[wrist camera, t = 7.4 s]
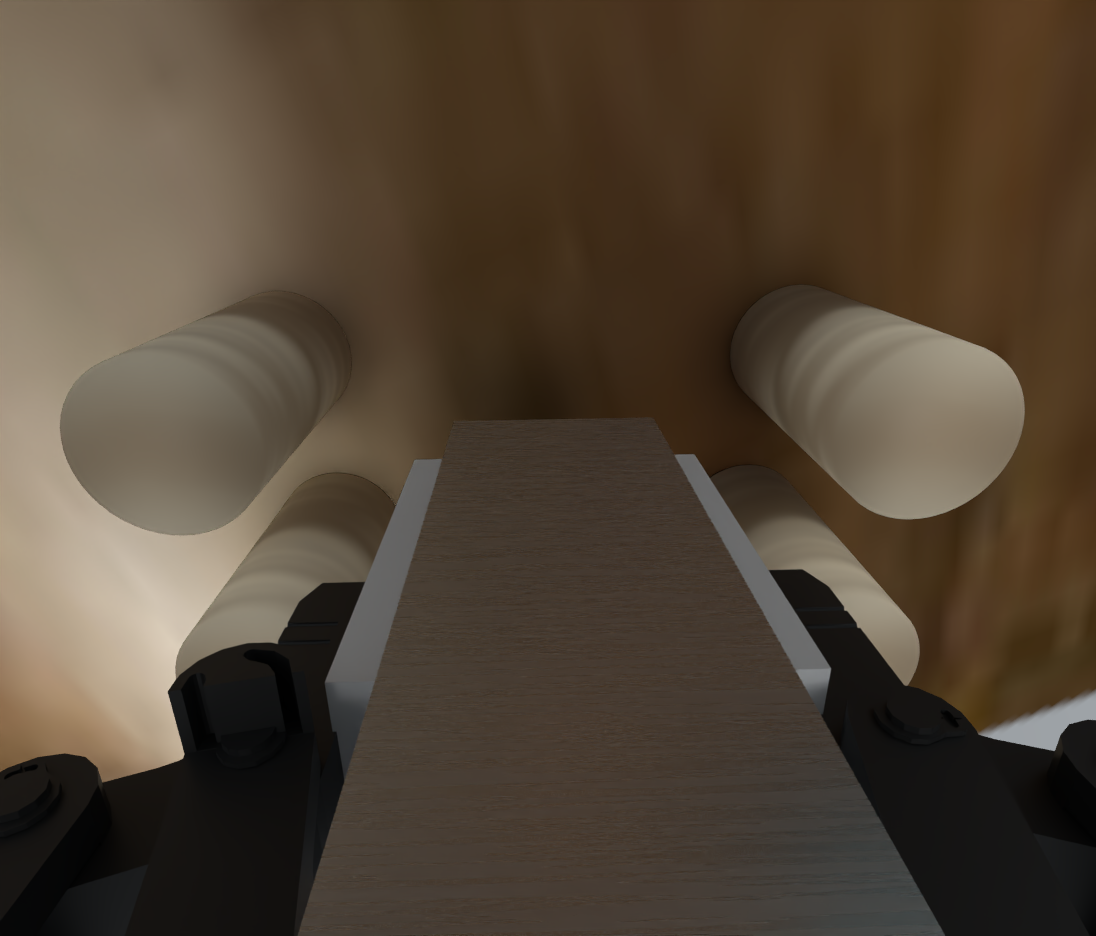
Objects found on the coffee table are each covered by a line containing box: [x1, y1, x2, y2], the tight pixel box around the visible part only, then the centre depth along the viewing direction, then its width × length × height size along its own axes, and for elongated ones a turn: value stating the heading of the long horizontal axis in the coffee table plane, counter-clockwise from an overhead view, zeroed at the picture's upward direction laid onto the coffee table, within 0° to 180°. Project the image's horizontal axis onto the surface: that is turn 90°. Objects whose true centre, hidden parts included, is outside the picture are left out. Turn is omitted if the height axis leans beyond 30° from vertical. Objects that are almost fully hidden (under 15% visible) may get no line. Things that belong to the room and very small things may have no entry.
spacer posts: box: [60, 285, 1025, 686], centre depth 20 cm, size 14×20×8 cm
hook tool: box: [298, 418, 945, 936], centre depth 11 cm, size 13×4×12 cm, turn 0°
